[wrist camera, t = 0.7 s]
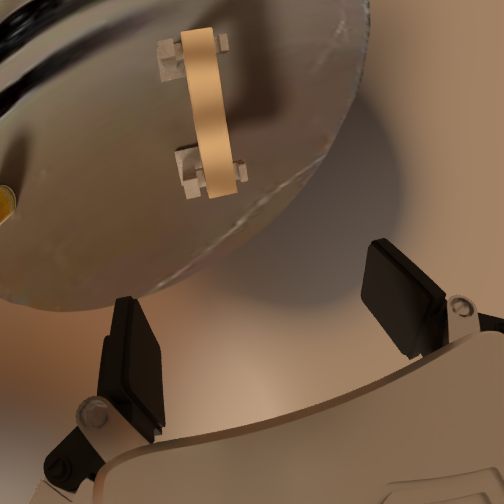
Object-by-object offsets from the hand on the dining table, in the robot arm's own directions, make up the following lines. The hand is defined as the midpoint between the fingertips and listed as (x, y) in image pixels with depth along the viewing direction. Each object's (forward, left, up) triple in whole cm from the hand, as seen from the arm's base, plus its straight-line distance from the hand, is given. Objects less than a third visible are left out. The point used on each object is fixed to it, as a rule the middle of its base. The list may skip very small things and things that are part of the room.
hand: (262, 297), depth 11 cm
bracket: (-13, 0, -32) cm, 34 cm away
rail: (-6, +1, -24) cm, 24 cm away
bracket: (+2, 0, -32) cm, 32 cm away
